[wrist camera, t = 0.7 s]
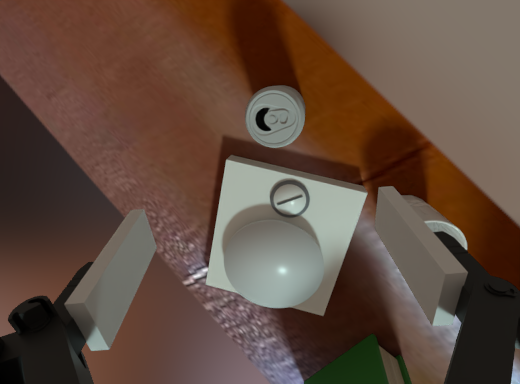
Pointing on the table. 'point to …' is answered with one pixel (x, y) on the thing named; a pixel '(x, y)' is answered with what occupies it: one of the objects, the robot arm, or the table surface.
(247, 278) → the kitchen scale
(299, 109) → the beverage can
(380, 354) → the hardback book
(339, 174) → the table surface
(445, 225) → the white cup
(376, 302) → the table surface
